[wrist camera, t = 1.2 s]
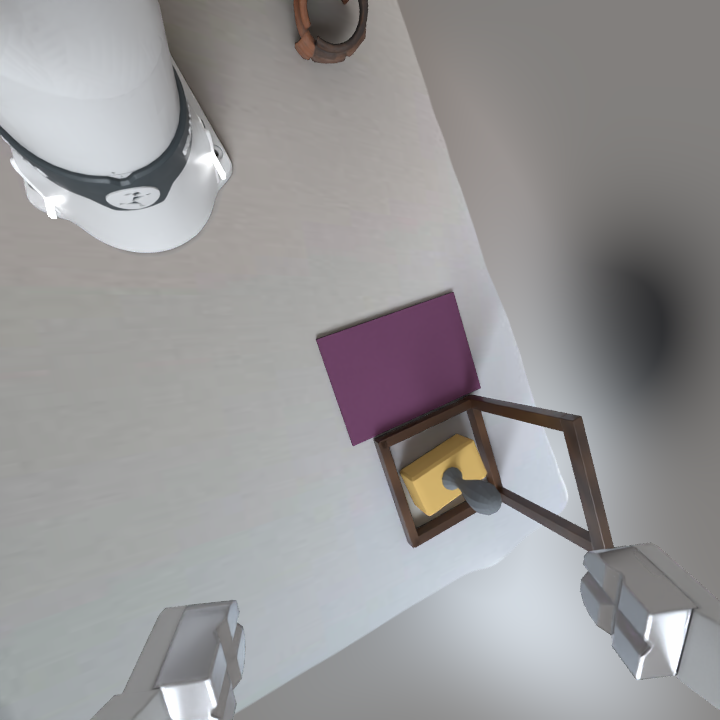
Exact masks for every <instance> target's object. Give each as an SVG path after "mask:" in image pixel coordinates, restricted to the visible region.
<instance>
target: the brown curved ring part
mask: <svg viewBox="0 0 720 720" xmlns="http://www.w3.org/2000/svg"><path fill="white" fill-rule="evenodd" d="M348 1H349V0H342V2H343V4H346V3H347V2H348ZM358 2H359V9H360V16H359V22H358V26H357V28H356V31H355V32H354V34H353V35H352V37H351V38H350V39H349V40H347V41H345V42H344V43H340V44H332V43H329V42H326V41H324V40H323V39H321V38H320V37H319V36H317V40H316V41H315V39H314V38H313V37H312V35H311V34H310V31H309V29H308V28H309V27H310V25H311V23H310V20H309V16H308V12H307V0H294V12H295V20H296V25H297V29H298V32H299V34H300V36H301V39H300V40H299V42H296V43H295V49H296V50H297V52H298V53H299V54H300V55H301V56H302V57H303V58H304V59H307V60H309V59H310V58H311V59H312V61H314V62H318V63H337V62H342V61H344V60H345V57H346V56H349V57H350V56H351V55H352V54H353V53H354V52H355V51H356V49H357V48H358V47H359V45H360V44H361V43H362V42H363V41H364V39H365V37H366V35H365V34H366V22H367V15H368V0H358Z"/></svg>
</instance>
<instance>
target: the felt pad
mask: <svg viewBox="0 0 720 720" xmlns="http://www.w3.org/2000/svg"><path fill="white" fill-rule="evenodd" d="M316 341H317V344H318V347H319V350H320V353H321V356H322V359H323V361H324V364H325V367H326V370H327V373H328V376H329V379H330V382H331V385H332V387H333V390H334V393H335V396H336V399H337V402H338V405H339V408H340V411H341V414H342V416H343V419H344V422H345V425H346V428H347V431H348V434H349V437H350V440H351V442H352V445H353V446H355V445H357V444H359V443H361V442H363V441H366V440H368V439H370V438H372V437H374V436H377V435H379V434H381V433H383V432H385V431H388V430H390V429H392V428H394V427H396V426H399V425H401V424H403V423H405V422H407V421H409V420H412V419H414V418H416V417H418V416H420V415H423V414H425V413H427V412H429V411H431V410H434V409H436V408H438V407H440V406H442V405H445V404H447V403H449V402H451V401H453V400H455V399H458V398H460V397H462V396H464V395H466V394H469V393H471V392H473V391H475V390H477V389H480V388H481V387H480V383H479V380H478V376H477V373H476V369H475V366H474V362H473V359H472V355H471V352H470V348H469V345H468V341H467V338H466V334H465V331H464V327H463V324H462V320H461V317H460V313H459V310H458V306H457V303H456V299H455V296H454V292H451V293H449V294H446V295H443V296H440V297H437V298H434V299H431V300H428V301H426V302H423V303H420V304H417V305H414V306H411V307H408V308H405V309H402V310H400V311H397V312H394V313H391V314H388V315H385V316H382V317H379V318H377V319H374V320H371V321H368V322H365V323H362V324H359V325H356V326H354V327H351V328H348V329H345V330H342V331H339V332H336V333H333V334H330V335H328V336H325V337H322V338H319V339H316Z"/></svg>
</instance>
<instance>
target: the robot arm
mask: <svg viewBox="0 0 720 720" xmlns="http://www.w3.org/2000/svg"><path fill="white" fill-rule="evenodd" d="M0 135H1V137H2V138H3V140H4V141H5V142H6V143H8V144H9V145H10V147H11V151H12V154H13V157H12V158H10V162H11V164H12V166H13V167H14V168H15V170H16V171H17V172H18V173H19V174H20V175H21V176H22V177H23V180H24V185H25V190H26V195H27V198H28V200H29V201H30V202H31V203H32V204H33V205H34V206H35V207H36V208H37V209H39V210H40V211H42V212H45V213H47V214H48V216H49V217H51V218H52V219H57V218H56V217H59V218H63V219H66V220H69V221H71V222H73V223H75V224H76V225H78V226H79V227H81V228H82V229H83V230H85V231H86V232H87V233H89V234H90V235H92V236H93V237H95V238H96V239H98V240H100V241H102V242H104V243H106V244H108V245H111V246H113V247H116V248H119V249H123V250H127V251H132V252H141V253H153V252H161V251H166V250H170V249H173V248H176V247H178V246H180V245H182V244H184V243H186V242H188V241H189V240H191V239H192V238H193V237H194V236H196V235H197V234H198V233H199V232H200V231H201V229H202V228H203V227H204V226H205V224H206V223H207V221H208V219H209V217H210V215H211V212H212V209H213V206H214V202H215V198H216V195H217V193H218V191H219V189H220V188H221V187H222V186H223V185H224V184H225V183H226V182H227V180H228V179H229V178H230V176H231V174H232V171H233V168H232V164H231V160H230V158H229V157H228V155H227V153H226V151H225V149H224V148H223V146H222V144H221V142H220V141H219V139H218V137H217V135H216V134H215V132H214V130H213V128H212V127H211V125H210V123H209V121H208V120H207V118H206V116H205V114H204V112H203V111H202V109H201V107H200V105H199V104H198V102H197V100H196V98H195V97H194V95H193V93H192V91H191V90H190V88H189V86H188V84H187V83H186V81H185V79H184V77H183V75H182V74H181V72H180V70H179V68H178V67H177V65H176V63H175V61H174V60H173V58H172V56H171V54H170V52H169V47H168V43H167V38H166V33H165V29H164V24H163V19H162V15H161V10H160V6H159V2H158V0H0ZM215 153H216V154H218V157H217V158H216V156H215ZM583 565H584V566H585V567H586V568H587V570H588V572H587V573H586V574H585V575H584V577H583V578H582V579H581V588H580V592H581V595H582V599H583V603H584V605H585V607H586V609H587V611H588V613H589V615H590V616H591V618H592V619H593V621H594V622H595V623H596V625H597V626H598V627H600V628H601V629H603V630H604V631H606V632H607V633H609V634H610V635H611V638H612V647H613V649H614V650H615V651H616V653H617V654H618V655H619V657H620V658H621V660H622V661H623V662H624V664H625V665H626V666H627V668H628V669H629V671H630V672H631V673H632V675H633V676H634V677H635V679H636V680H643V679H651V678H659V677H666V676H675V675H677V679H679V680H680V681H681V682H683V683H684V684H685V685H687V686H688V687H689V688H691V689H692V690H693V691H695V692H696V693H697V694H699V695H700V696H701V697H703V698H704V699H705V700H707V701H708V702H709V703H711V704H712V705H713V706H715V707H716V708H717V709H719V710H720V601H719V600H718V599H717V598H716V597H715V596H714V595H713V594H712V593H711V592H709V591H708V590H707V589H706V588H705V587H704V586H703V585H702V584H700V583H699V582H698V581H697V580H696V579H695V578H694V577H692V576H691V575H690V574H689V573H688V572H687V571H686V570H684V569H683V568H682V567H681V566H680V565H679V564H678V563H677V562H676V561H674V560H673V559H672V558H671V557H670V556H669V555H668V554H666V553H665V552H664V551H663V550H662V549H661V548H660V547H658V546H657V545H655V544H652V543H644V544H637V545H630V546H621V547H614V548H607V549H600V550H594V551H588V552H587V553H586V554H585V556H584V562H583ZM239 612H240V611H239V608H238V604H237V601H236V600H230V601H221V602H212V603H202V604H193V605H186V606H178V607H169V608H165V609H164V610H163V611H162V612H161V613H160V615H159V616H158V618H157V620H156V622H155V624H154V627H153V629H152V631H151V633H150V635H149V637H148V639H147V642H146V644H145V646H144V648H143V650H142V652H141V654H140V657H139V659H138V661H137V663H136V665H135V667H134V669H133V672H132V674H131V676H130V678H129V680H128V682H127V685H126V687H125V689H124V691H123V693H122V694H119V695H114V696H113V697H112V698H111V699H110V700H109V701H108V702H107V703H106V704H105V705H104V706H103V707H102V708H101V709H100V710H99V711H98V712H97V713H96V714H95V715H94V716H93V717H92V718H91V719H90V720H233V719H234V714H235V709H236V700H235V696H234V692H233V690H234V688H235V687H236V686H237V684H238V683H239V682H240V680H241V679H242V674H243V668H244V662H245V648H246V645H245V634H244V629H243V626H241V625H240V624H239V623H237V621H238V616H239Z"/></svg>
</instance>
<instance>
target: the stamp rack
mask: <svg viewBox="0 0 720 720" xmlns="http://www.w3.org/2000/svg"><path fill="white" fill-rule="evenodd" d="M466 410H467V413H468V417H469V420H470V423H471V427H472V430H473V434H474V437H475V440H476V444H477V447H478V451H479V454H480V457H481V459H482V462H483V464H484V467H485V469H486V471H487V475H486V478H487V481H488V482H489V483H491V484H493V485H494V486H495V487H496V489H497V490H498V491H499V493H500V494H501V500H502V502H503V503H505V504H507V505H508V506H510V507H512V508H514V509H515V510H517V511H519V512H521V513H522V514H524V515H526V516H528V517H529V518H531V519H533V520H535V521H536V522H538V523H540V524H542V525H543V526H545V527H547V528H549V529H551V530H552V531H554V532H556V533H558V534H559V535H561V536H563V537H565V538H566V539H568V540H570V541H571V542H573V543H575V544H577V545H578V546H580V547H582V548H584V549H585V550H587V551H594V550H600V549H607V548H614V546H613V542H612V538H611V534H610V530H609V526H608V522H607V518H606V513H605V510H604V505H603V502H602V498H601V494H600V489H599V485H598V481H597V477H596V473H595V469H594V465H593V461H592V457H591V453H590V449H589V444H588V440H587V436H586V433H585V428H584V424H583V420H582V417H581V416H577V415H573V414H567V413H562V412H557V411H552V410H547V409H542V408H537V407H532V406H527V405H522V404H517V403H512V402H506V401H501V400H496V399H491V398H486V397H481V396H476V395H471V394H469V395H467V396H465V397H463V399H460V400H458V401H456V402H454V403H452V404H449V405H447V406H445V407H443V408H441V409H439V410H436V411H434V412H432V413H430V414H428V415H426V416H423V417H421V418H419V419H417V420H415V421H412V422H410V423H408V424H406V425H404V426H402V427H399V428H397V429H395V430H393V431H391V432H388V433H386V434H384V435H382V436H380V437H378V438H376V439H375V440H374V443H375V446H376V449H377V452H378V455H379V458H380V461H381V464H382V467H383V470H384V473H385V476H386V479H387V482H388V485H389V488H390V491H391V494H392V497H393V500H394V503H395V506H396V509H397V512H398V514H399V517H400V520H401V523H402V526H403V529H404V532H405V535H406V538H407V541H408V543H409V544H410V545H411V546H412V547H413V548H414V547H415V548H416V547H417V546H419V545H421V544H423V543H424V542H426V541H428V540H429V539H431V538H433V537H435V536H436V535H438V534H440V533H441V532H443V531H445V530H447V529H448V528H450V527H452V526H453V525H455V524H457V523H459V522H460V521H462V520H464V519H466V518H467V517H469V516H471V515H472V514H474V513H476V511H475V510H474V509H473V508H472V507H471V506H470V505H469V504H468V503H467V501H465V502H463V503H461V504H460V505H458V506H456V507H454V508H453V509H451V510H449V511H447V512H445V513H444V514H442V515H440V516H438V517H437V518H435V519H433V520H431V521H430V522H428V523H426V524H424V525H422V526H421V527H419V528H417V529H416V528H415V525H414V522H413V519H412V515H411V512H410V509H409V506H408V503H407V500H406V497H405V494H404V491H403V488H402V485H401V482H400V479H399V476H398V473H397V470H396V467H395V464H394V461H393V458H392V455H391V452H390V449H389V447H390V446H392V445H394V444H396V443H398V442H401V441H403V440H405V439H407V438H409V437H411V436H413V435H415V434H418V433H420V432H422V431H424V430H426V429H428V428H430V427H432V426H434V425H437V424H439V423H441V422H443V421H445V420H447V419H449V418H451V417H453V416H456V415H458V414H460V413H462V412H464V411H466ZM481 411H484V412H488V413H492V414H496V415H499V416H503V417H507V418H511V419H515V420H519V421H523V422H527V423H531V424H535V425H539V426H543V427H547V428H551V429H555V430H559V431H563V432H564V436H565V440H566V444H567V448H568V452H569V456H570V460H571V464H572V467H573V472H574V475H575V479H576V483H577V487H578V491H579V495H580V499H581V502H582V506H583V511H584V514H585V519H586V522H587V526H588V530H589V531H587V530H585V529H583V528H581V527H579V526H577V525H575V524H573V523H571V522H569V521H567V520H565V519H563V518H562V517H559V516H558V515H556V514H554V513H552V512H550V511H548V510H546V509H544V508H542V507H540V506H538V505H536V504H534V503H533V502H531V501H529V500H527V499H525V498H523V497H521V496H519V495H517V494H515V493H513V492H511V491H509V490H507V489H505V488H504V487H503V486H502V483H501V479H500V476H499V472H498V469H497V466H496V462H495V459H494V455H493V452H492V448H491V445H490V441H489V438H488V434H487V431H486V427H485V424H484V420H483V417H482V413H481Z"/></svg>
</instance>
